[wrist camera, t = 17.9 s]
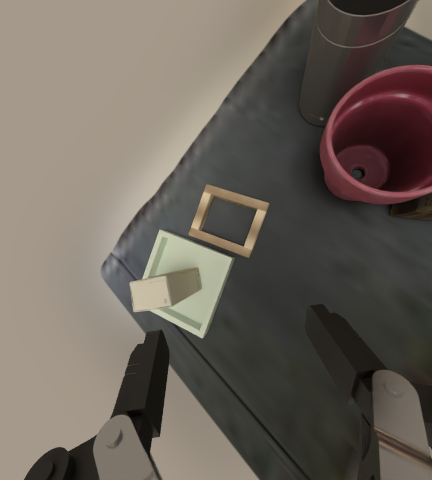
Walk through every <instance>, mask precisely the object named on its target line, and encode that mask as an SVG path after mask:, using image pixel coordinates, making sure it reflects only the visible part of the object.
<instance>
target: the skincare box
mask: <svg viewBox="0 0 432 480" xmlns="http://www.w3.org/2000/svg"><path fill="white" fill-rule="evenodd" d="M201 289H202V285H201V279H200V274H199V269H198V267H197V268H190V269H184V270H179V271H174V272H169V273H165V274H161V275H157V276H153V277H149V278H145V279H141V280H137V281H133V282H130V290H131V298H132V304H133V311H134V312H140V311H149V310H156V309H162V308H168V307H172V306H174V305H176V304H177V303H179V302H181V301H182V300H184V299H186V298H187V297H189V296H191V295H193V294H194V293H196V292H198V291H199V290H201Z"/></svg>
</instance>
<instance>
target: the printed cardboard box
mask: <svg viewBox="0 0 432 480" xmlns="http://www.w3.org/2000/svg"><path fill="white" fill-rule="evenodd" d="M390 215H391V216H395V217H402V218H411V219H421V220H432V192H431V193H429V194H426V195H423V196H421V197H418V198H415V199H412V200H409V201H405V202H401V203H395V204H392V207H391V211H390Z"/></svg>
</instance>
